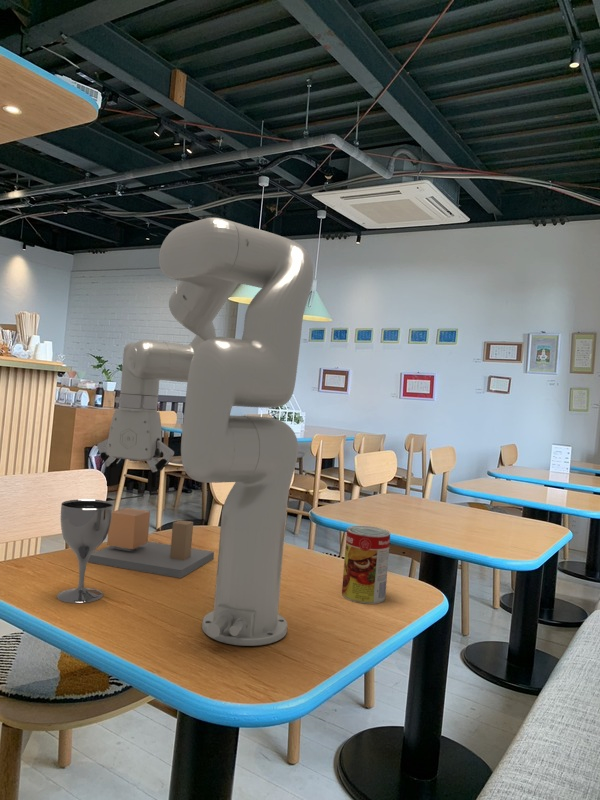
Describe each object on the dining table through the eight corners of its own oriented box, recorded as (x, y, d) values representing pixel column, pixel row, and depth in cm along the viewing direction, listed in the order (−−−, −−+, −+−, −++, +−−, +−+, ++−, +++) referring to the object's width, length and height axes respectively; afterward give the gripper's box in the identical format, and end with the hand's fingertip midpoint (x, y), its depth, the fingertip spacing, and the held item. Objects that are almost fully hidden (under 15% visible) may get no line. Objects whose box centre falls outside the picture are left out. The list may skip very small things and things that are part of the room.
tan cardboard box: (132, 549, 116) (135, 515, 116) (107, 544, 118) (109, 512, 118) (147, 542, 122) (150, 511, 122) (123, 539, 123) (125, 507, 123)
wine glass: (45, 602, 92) (53, 506, 92) (64, 586, 99) (71, 497, 99) (97, 605, 92) (104, 510, 92) (111, 589, 100) (118, 501, 100)
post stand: (180, 578, 108) (184, 532, 108) (87, 562, 114) (90, 518, 114) (213, 558, 123) (216, 518, 123) (129, 545, 128) (132, 506, 128)
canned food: (349, 586, 112) (354, 523, 112) (389, 594, 109) (394, 530, 109) (335, 598, 104) (341, 530, 104) (378, 607, 101) (384, 538, 101)
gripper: (90, 400, 119) (84, 485, 118) (168, 406, 114) (161, 495, 114) (111, 401, 126) (105, 481, 126) (185, 407, 121) (179, 490, 121)
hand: (132, 487), depth 120 cm, fingers open, 8 cm apart
